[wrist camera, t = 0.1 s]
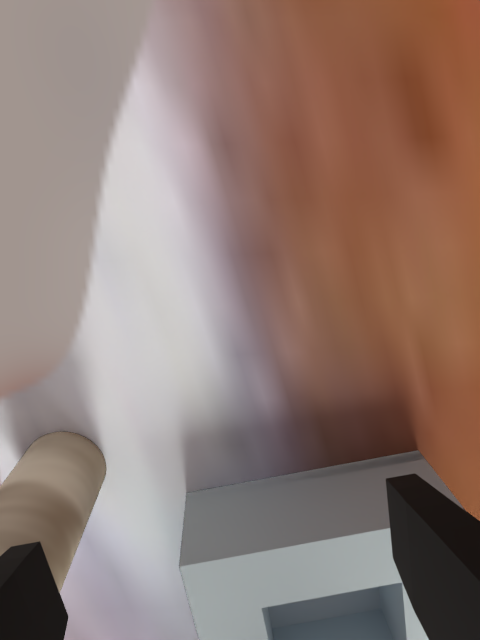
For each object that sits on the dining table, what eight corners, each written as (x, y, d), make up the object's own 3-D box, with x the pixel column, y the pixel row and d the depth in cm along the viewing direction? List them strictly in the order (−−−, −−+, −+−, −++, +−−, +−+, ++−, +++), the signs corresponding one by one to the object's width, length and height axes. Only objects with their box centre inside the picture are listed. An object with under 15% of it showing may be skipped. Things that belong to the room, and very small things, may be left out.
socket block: (427, 620, 24) (473, 714, 19) (228, 656, 24) (231, 759, 19) (415, 446, 21) (468, 513, 16) (186, 488, 21) (178, 566, 16)
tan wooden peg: (114, 493, 20) (64, 643, 13) (38, 507, 20) (-52, 664, 13) (94, 424, 19) (27, 550, 12) (13, 439, 19) (-98, 573, 12)
